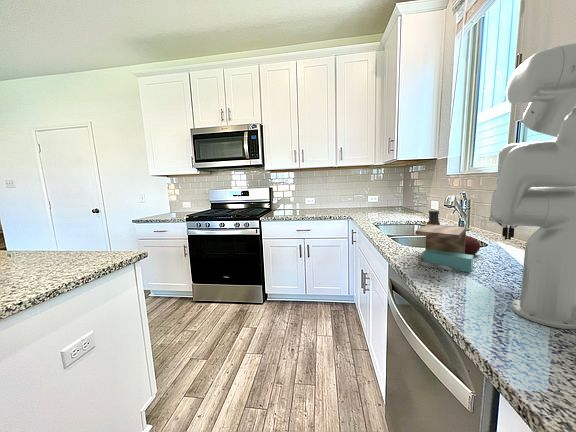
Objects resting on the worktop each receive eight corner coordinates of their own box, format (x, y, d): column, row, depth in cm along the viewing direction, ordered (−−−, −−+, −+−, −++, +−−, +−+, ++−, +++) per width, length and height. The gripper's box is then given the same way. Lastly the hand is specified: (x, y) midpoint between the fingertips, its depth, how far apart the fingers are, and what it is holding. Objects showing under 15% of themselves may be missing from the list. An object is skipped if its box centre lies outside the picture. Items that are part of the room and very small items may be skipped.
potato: (457, 257, 110) (458, 238, 109) (444, 250, 121) (445, 233, 120) (486, 257, 108) (487, 238, 107) (470, 250, 119) (472, 233, 118)
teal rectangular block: (422, 263, 103) (422, 251, 102) (426, 260, 107) (426, 248, 106) (470, 272, 92) (471, 259, 91) (472, 268, 96) (473, 255, 96)
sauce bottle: (442, 255, 114) (445, 211, 111) (427, 254, 115) (429, 211, 113) (437, 251, 120) (439, 209, 118) (422, 250, 122) (424, 209, 119)
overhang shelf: (464, 261, 104) (466, 227, 102) (456, 274, 90) (458, 234, 88) (426, 255, 113) (427, 224, 111) (414, 267, 99) (415, 230, 97)
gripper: (541, 185, 83) (537, 240, 84) (483, 186, 93) (481, 235, 94) (543, 184, 77) (539, 243, 79) (482, 185, 87) (479, 238, 88)
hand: (507, 239), depth 86 cm, fingers closed
